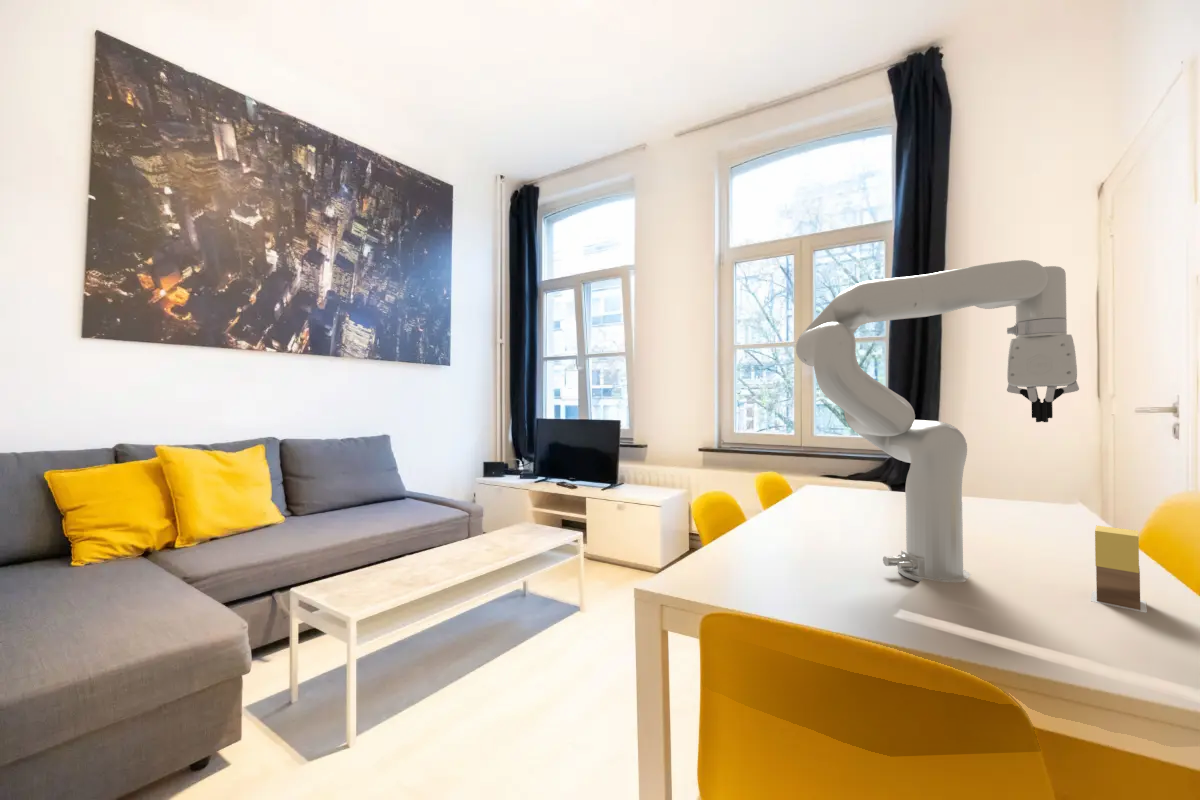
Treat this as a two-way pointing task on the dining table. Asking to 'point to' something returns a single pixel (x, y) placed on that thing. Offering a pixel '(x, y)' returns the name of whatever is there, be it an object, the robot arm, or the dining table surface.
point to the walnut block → (1118, 587)
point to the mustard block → (1117, 548)
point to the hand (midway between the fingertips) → (1042, 421)
